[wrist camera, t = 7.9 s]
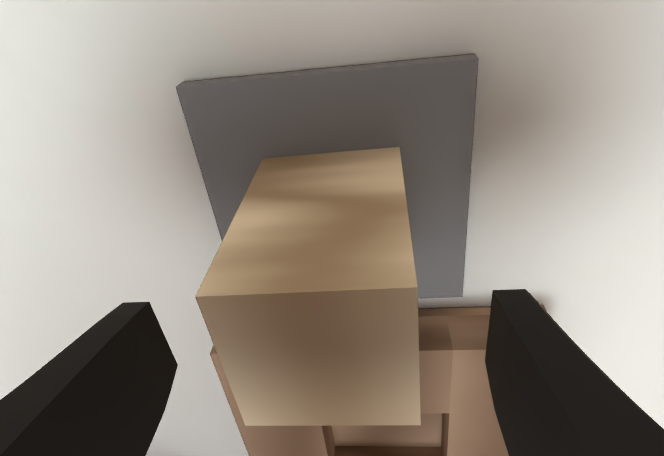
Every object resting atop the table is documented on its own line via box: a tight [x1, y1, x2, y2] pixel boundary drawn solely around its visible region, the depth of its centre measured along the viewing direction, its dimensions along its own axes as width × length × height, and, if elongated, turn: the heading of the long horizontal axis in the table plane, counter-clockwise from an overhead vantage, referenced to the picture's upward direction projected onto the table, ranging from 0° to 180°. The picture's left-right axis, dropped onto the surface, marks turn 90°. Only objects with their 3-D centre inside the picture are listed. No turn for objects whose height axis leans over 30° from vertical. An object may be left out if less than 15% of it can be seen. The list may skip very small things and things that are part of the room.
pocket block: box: [210, 305, 546, 456], centre depth 19 cm, size 12×12×2 cm
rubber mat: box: [176, 54, 478, 298], centre depth 14 cm, size 8×8×1 cm
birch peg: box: [195, 147, 421, 426], centre depth 11 cm, size 4×4×6 cm
